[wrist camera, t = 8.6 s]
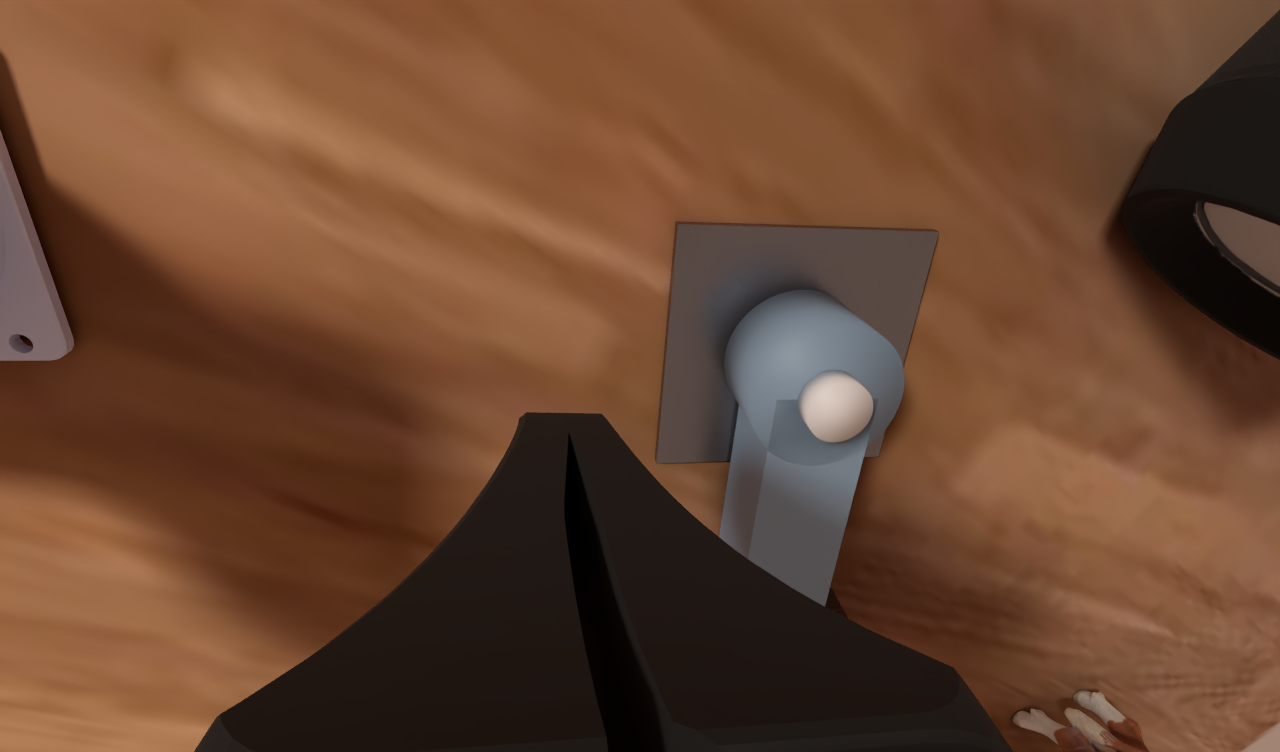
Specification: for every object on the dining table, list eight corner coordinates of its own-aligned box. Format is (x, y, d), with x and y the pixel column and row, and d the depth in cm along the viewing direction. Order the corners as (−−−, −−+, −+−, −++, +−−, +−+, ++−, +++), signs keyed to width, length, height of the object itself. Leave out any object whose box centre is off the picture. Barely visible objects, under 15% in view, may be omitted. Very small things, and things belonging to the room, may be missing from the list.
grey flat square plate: (655, 458, 22) (656, 463, 21) (675, 221, 18) (677, 223, 18) (874, 451, 23) (878, 456, 23) (933, 229, 20) (939, 232, 19)
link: (734, 288, 19) (774, 336, 16) (873, 290, 20) (939, 336, 16) (682, 671, 26) (702, 757, 23) (785, 663, 27) (819, 745, 24)
